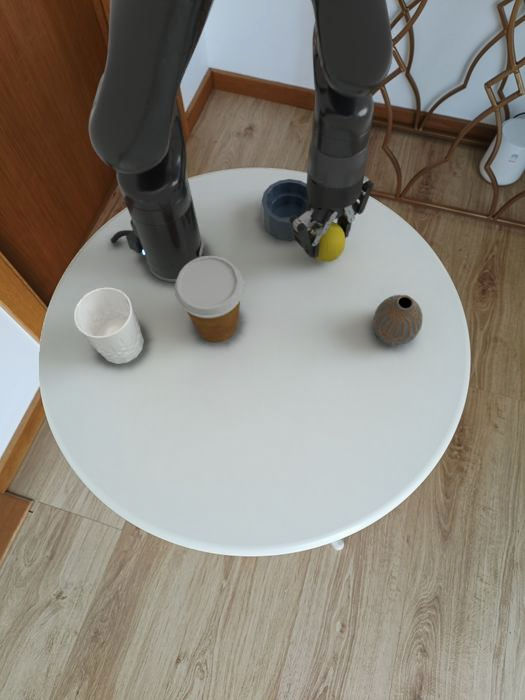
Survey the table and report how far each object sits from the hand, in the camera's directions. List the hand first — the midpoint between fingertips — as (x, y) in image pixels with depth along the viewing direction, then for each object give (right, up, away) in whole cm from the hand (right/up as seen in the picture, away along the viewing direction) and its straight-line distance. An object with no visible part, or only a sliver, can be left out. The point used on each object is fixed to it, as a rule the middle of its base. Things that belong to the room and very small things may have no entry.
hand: (326, 243), depth 85 cm
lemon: (0, -2, +3) cm, 4 cm away
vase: (+10, -14, -3) cm, 17 cm away
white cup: (-32, -16, -3) cm, 36 cm away
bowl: (-6, +5, +7) cm, 10 cm away
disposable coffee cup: (-17, -13, -2) cm, 22 cm away
